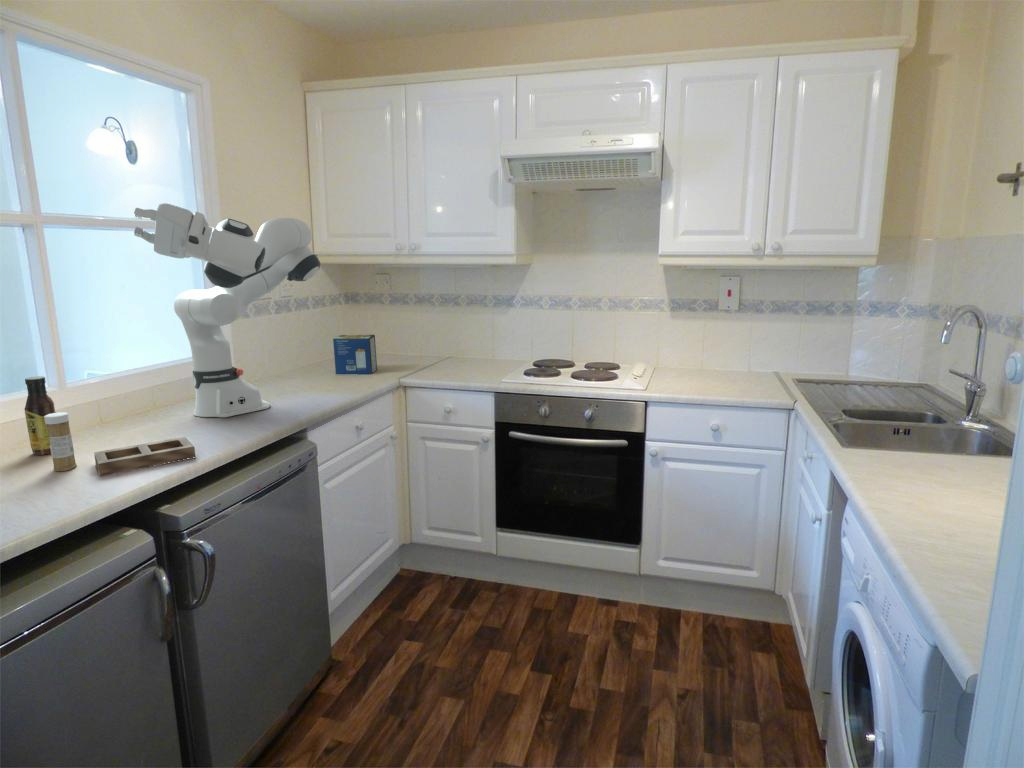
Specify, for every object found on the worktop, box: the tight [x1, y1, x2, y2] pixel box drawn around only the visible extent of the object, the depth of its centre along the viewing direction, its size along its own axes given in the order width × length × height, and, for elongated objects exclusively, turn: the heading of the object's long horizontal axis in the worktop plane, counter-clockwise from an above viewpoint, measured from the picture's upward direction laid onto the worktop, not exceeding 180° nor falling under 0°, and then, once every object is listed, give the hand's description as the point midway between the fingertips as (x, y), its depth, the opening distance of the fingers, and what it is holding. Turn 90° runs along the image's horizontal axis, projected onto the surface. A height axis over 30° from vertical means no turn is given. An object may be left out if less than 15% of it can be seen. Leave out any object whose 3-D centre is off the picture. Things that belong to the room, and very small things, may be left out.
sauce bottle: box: [24, 375, 57, 456], centre depth 159 cm, size 6×6×20 cm
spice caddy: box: [93, 436, 196, 477], centre depth 152 cm, size 20×11×3 cm, turn 128°
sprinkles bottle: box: [44, 411, 78, 472], centre depth 147 cm, size 5×5×13 cm
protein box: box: [332, 334, 378, 375], centre depth 263 cm, size 10×15×16 cm
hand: (134, 221), depth 151 cm, fingers open, 8 cm apart
